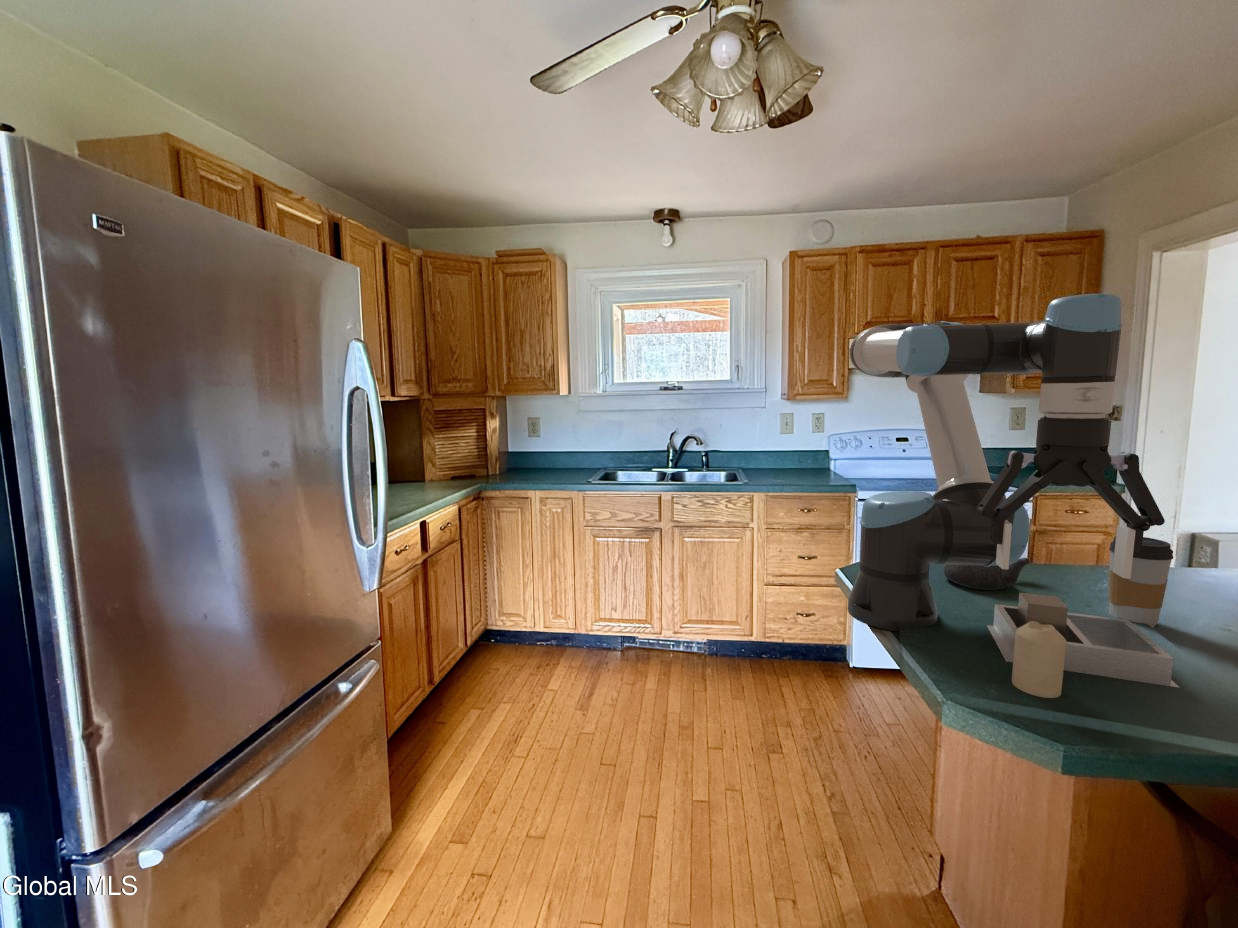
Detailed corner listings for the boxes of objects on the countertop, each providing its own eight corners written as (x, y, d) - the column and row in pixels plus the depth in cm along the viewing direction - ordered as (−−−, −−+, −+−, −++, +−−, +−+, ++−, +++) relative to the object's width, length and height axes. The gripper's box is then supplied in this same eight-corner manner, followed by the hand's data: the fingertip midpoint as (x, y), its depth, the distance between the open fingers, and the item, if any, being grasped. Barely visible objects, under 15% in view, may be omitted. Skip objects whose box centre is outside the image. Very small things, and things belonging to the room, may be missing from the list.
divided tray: (1005, 667, 83) (1008, 636, 83) (986, 630, 96) (988, 603, 95) (1178, 694, 75) (1183, 659, 75) (1132, 649, 88) (1135, 620, 88)
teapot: (1017, 602, 108) (1021, 554, 107) (933, 582, 120) (936, 538, 119) (1045, 581, 120) (1049, 537, 119) (966, 564, 132) (969, 524, 131)
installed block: (1023, 651, 86) (1027, 603, 85) (1015, 638, 91) (1019, 592, 90) (1063, 657, 84) (1067, 607, 83) (1052, 643, 89) (1056, 596, 88)
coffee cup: (1178, 632, 94) (1188, 548, 92) (1121, 629, 96) (1130, 546, 94) (1142, 613, 102) (1151, 535, 100) (1091, 610, 104) (1099, 533, 102)
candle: (1001, 684, 79) (1006, 618, 77) (1037, 681, 79) (1042, 616, 78) (1033, 705, 73) (1039, 635, 72) (1071, 703, 74) (1078, 632, 72)
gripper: (973, 417, 73) (963, 570, 76) (1215, 417, 65) (1194, 588, 68) (958, 415, 80) (949, 555, 83) (1175, 414, 72) (1157, 570, 75)
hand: (1059, 570), depth 75 cm, fingers open, 13 cm apart
